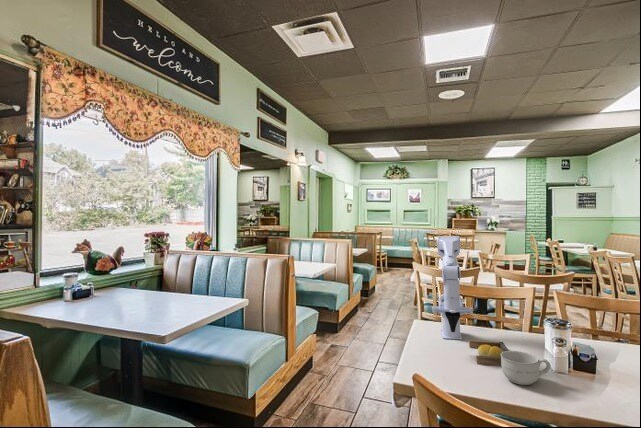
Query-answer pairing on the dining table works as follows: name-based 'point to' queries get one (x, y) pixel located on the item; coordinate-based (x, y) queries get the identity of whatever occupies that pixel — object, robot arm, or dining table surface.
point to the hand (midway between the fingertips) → (452, 331)
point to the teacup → (522, 367)
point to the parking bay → (488, 359)
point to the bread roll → (489, 351)
